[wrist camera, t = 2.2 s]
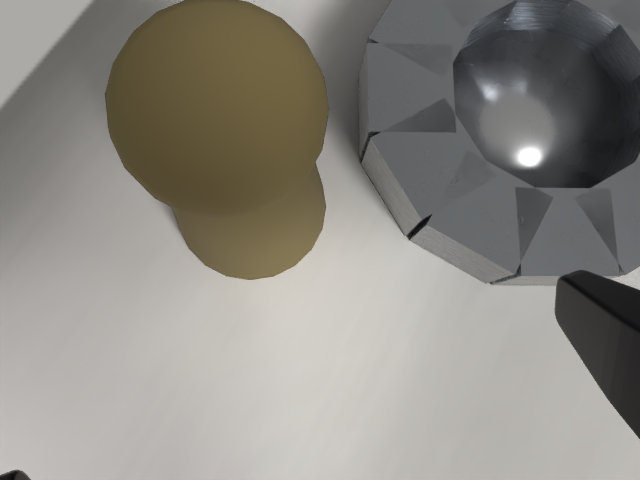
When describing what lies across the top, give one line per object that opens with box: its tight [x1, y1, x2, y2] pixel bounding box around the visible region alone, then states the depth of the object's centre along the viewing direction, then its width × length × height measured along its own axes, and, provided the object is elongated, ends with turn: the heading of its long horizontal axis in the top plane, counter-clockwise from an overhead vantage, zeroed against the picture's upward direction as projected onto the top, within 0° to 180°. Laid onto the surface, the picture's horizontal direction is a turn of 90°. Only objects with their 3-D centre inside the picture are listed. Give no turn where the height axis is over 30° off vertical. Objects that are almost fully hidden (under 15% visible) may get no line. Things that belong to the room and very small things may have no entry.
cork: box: [105, 0, 329, 280], centre depth 17 cm, size 6×6×11 cm
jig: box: [358, 0, 640, 285], centre depth 22 cm, size 14×14×3 cm
